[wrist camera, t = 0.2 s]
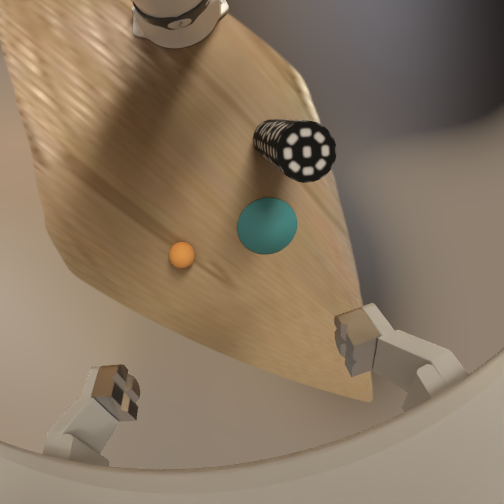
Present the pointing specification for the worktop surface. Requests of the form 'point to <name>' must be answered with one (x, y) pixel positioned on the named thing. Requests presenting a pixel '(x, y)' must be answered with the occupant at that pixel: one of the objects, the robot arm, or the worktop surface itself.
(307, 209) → the worktop surface
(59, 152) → the worktop surface
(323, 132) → the spotted tube
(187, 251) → the ball
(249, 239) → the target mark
